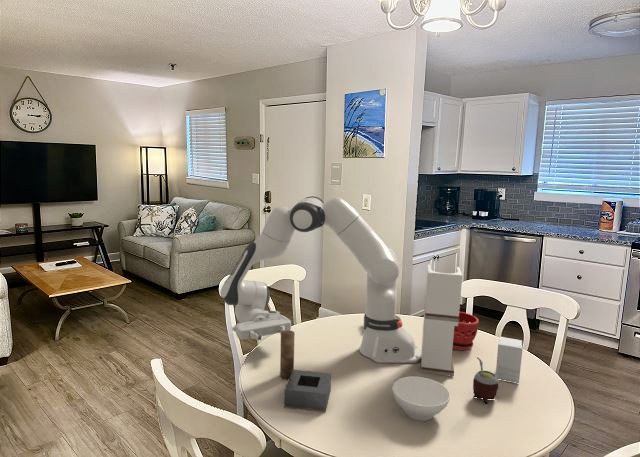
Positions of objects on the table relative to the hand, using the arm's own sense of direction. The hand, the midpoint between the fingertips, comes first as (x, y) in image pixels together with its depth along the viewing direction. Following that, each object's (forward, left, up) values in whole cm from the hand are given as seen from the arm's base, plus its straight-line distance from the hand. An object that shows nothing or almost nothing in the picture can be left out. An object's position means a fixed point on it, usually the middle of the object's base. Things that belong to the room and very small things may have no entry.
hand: (272, 335), depth 150 cm
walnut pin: (-8, +9, -9) cm, 15 cm away
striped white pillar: (-57, -7, -9) cm, 59 cm away
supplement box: (-80, -5, -10) cm, 81 cm away
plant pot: (-68, -28, -10) cm, 74 cm away
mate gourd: (-69, +11, -10) cm, 71 cm away
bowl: (-49, +22, -10) cm, 55 cm away
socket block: (-17, +21, -9) cm, 29 cm away
